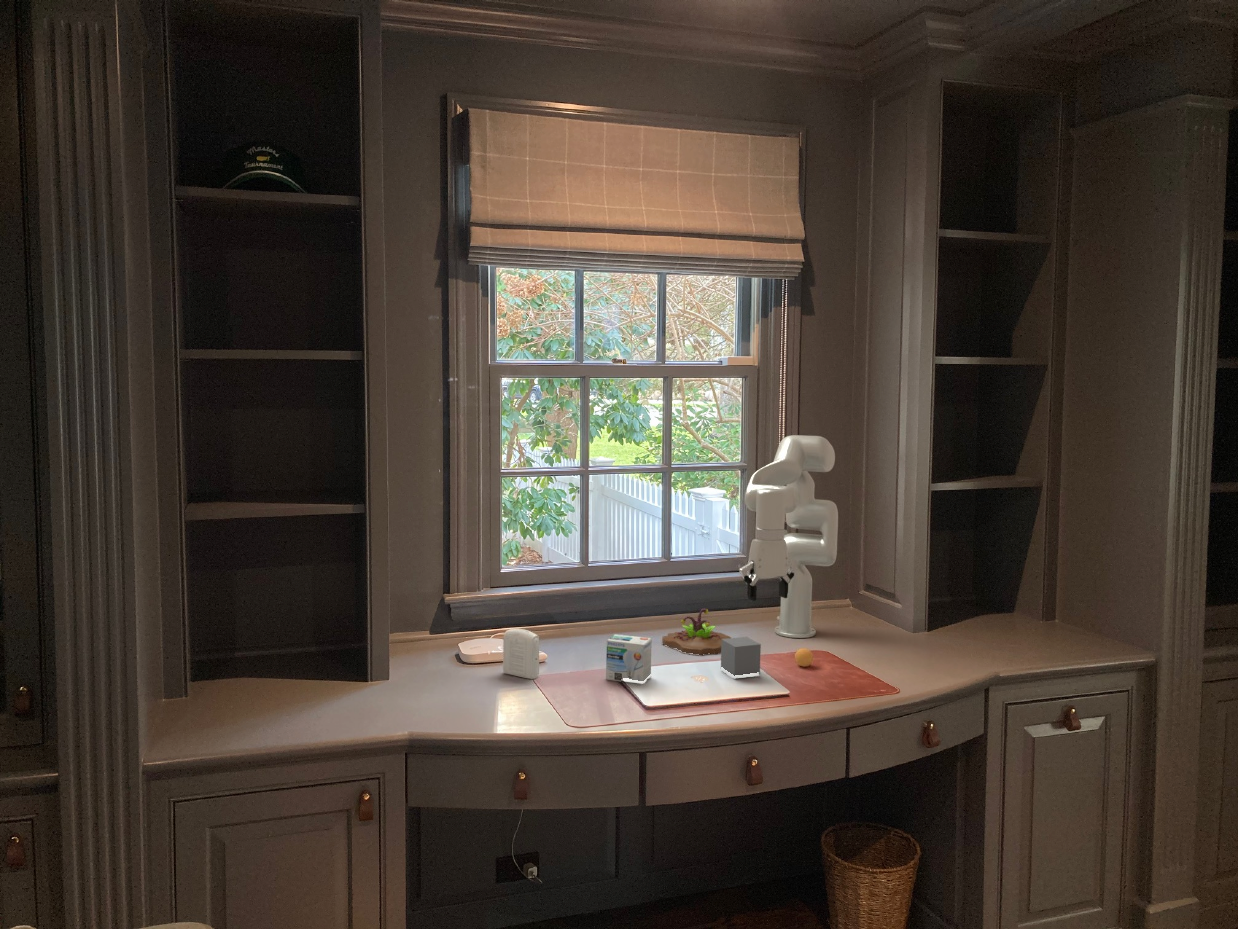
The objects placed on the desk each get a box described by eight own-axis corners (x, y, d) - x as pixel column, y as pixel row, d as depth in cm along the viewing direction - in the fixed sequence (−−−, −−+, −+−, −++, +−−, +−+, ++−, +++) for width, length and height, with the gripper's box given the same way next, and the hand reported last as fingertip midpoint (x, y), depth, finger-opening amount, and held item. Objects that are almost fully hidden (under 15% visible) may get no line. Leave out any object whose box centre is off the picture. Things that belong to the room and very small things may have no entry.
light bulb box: (605, 680, 240) (605, 639, 239) (614, 672, 246) (614, 633, 246) (643, 685, 237) (644, 644, 236) (651, 677, 243) (652, 637, 242)
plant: (746, 649, 271) (747, 612, 270) (695, 660, 260) (696, 621, 259) (703, 633, 287) (704, 598, 286) (653, 643, 277) (654, 606, 276)
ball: (791, 664, 255) (791, 647, 255) (806, 662, 257) (807, 645, 257) (800, 669, 251) (801, 652, 250) (816, 668, 253) (817, 650, 252)
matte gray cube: (720, 670, 249) (721, 639, 248) (745, 668, 252) (746, 636, 251) (734, 679, 242) (735, 647, 241) (759, 676, 245) (760, 644, 244)
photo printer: (541, 676, 243) (541, 630, 241) (532, 680, 239) (532, 634, 238) (510, 669, 248) (510, 625, 247) (500, 674, 244) (500, 628, 243)
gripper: (789, 531, 250) (787, 593, 251) (734, 534, 243) (732, 597, 244) (805, 535, 243) (802, 599, 244) (748, 538, 236) (746, 603, 238)
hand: (767, 598), depth 244 cm, fingers open, 9 cm apart
